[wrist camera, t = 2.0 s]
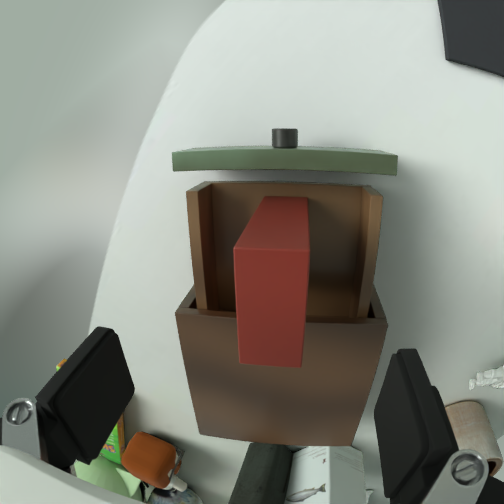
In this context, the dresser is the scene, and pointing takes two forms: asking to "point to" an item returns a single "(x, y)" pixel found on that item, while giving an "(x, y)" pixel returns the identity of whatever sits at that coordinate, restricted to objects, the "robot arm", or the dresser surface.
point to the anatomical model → (173, 497)
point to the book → (273, 283)
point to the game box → (111, 438)
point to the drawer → (320, 220)
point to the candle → (263, 475)
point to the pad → (474, 33)
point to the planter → (475, 432)
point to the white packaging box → (327, 476)
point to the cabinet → (281, 378)
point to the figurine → (489, 378)
